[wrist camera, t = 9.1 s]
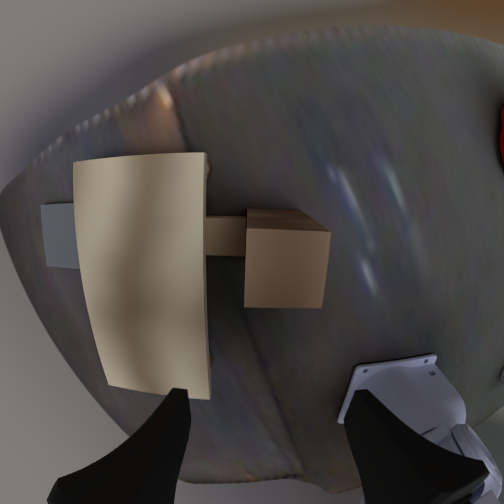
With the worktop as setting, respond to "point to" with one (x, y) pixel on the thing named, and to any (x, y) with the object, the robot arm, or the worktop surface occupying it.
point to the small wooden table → (146, 268)
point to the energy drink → (502, 375)
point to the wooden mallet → (275, 255)
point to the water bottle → (502, 135)
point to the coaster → (60, 235)
